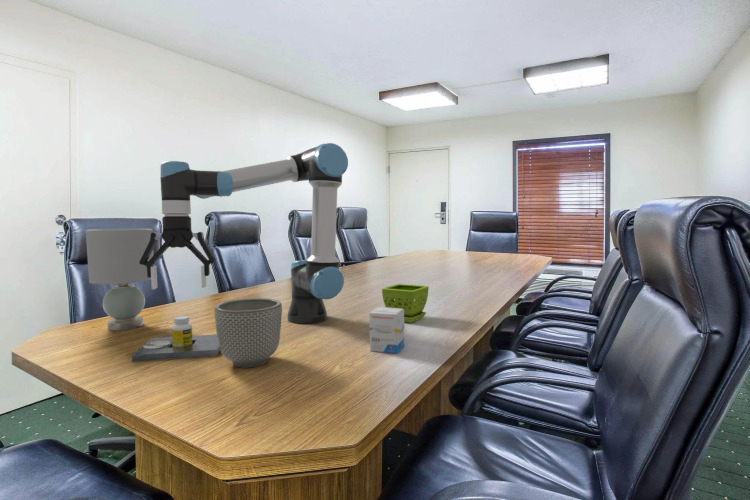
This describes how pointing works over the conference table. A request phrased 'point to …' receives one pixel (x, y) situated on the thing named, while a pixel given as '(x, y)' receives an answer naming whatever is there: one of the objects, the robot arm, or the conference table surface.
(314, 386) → the conference table surface
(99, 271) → the lamp
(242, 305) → the planter
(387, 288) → the flower pot
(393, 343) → the ink box
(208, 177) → the robot arm
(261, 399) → the conference table surface
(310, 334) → the conference table surface
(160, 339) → the housing plate
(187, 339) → the supplement bottle
